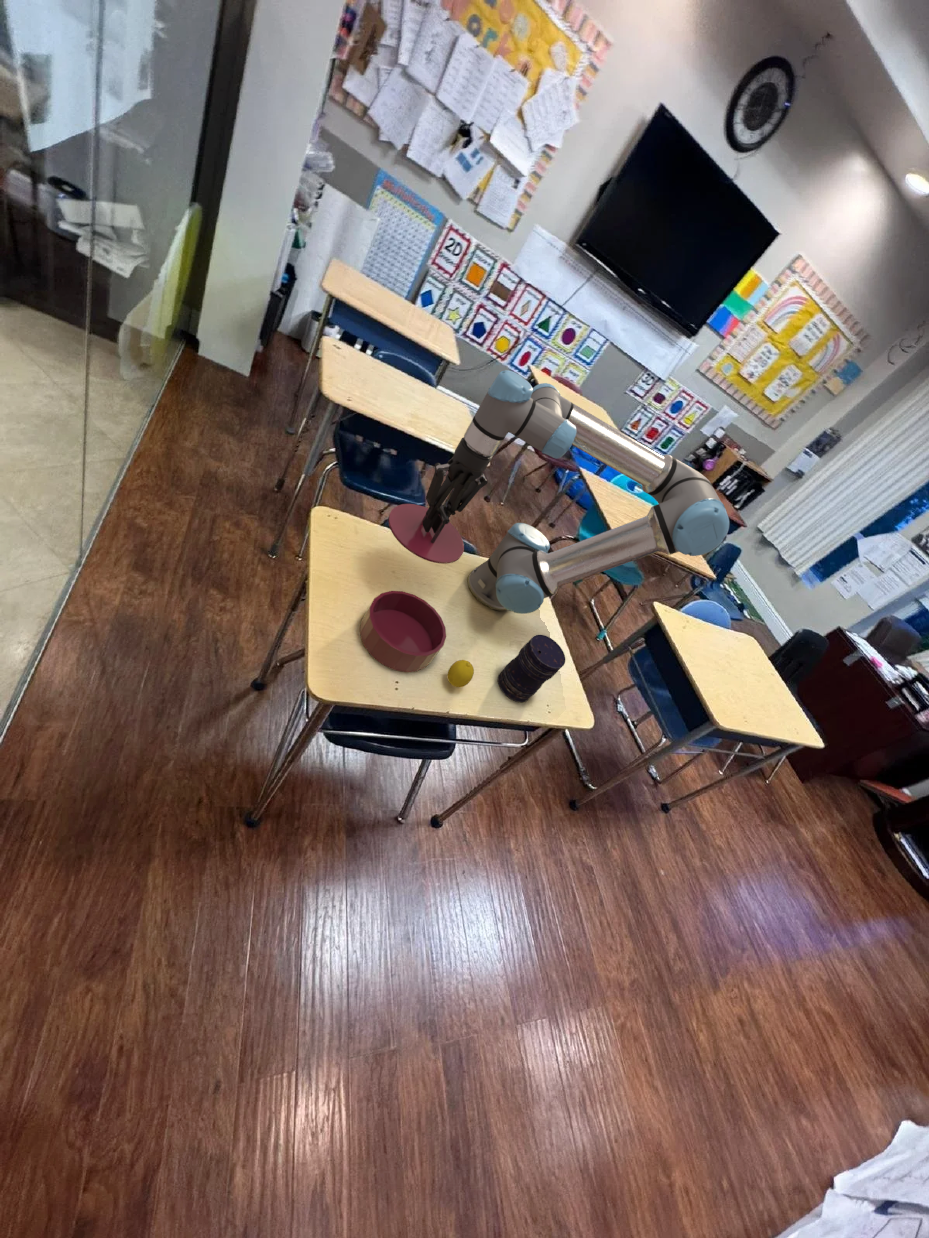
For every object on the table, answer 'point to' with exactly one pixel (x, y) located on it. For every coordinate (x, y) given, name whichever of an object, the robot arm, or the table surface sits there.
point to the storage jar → (531, 668)
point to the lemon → (460, 673)
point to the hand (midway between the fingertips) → (429, 528)
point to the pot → (402, 631)
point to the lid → (425, 534)
